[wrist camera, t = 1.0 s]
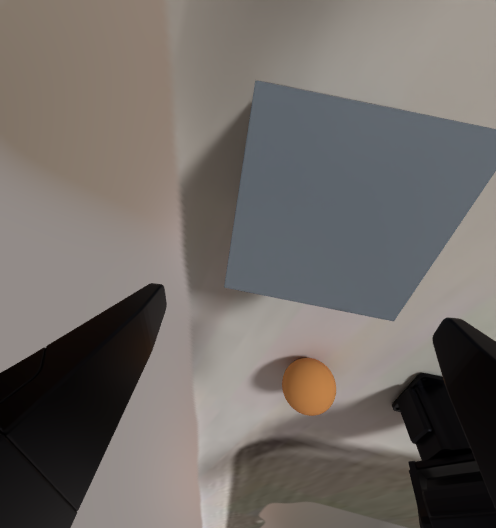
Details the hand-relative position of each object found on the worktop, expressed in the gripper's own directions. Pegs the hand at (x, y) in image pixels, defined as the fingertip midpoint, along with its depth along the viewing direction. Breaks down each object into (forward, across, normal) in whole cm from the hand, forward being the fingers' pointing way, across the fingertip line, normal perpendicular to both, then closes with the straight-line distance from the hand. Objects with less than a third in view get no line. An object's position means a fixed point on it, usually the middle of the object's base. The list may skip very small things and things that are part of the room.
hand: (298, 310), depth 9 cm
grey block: (+11, -1, -2) cm, 12 cm away
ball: (+9, -4, +18) cm, 20 cm away
